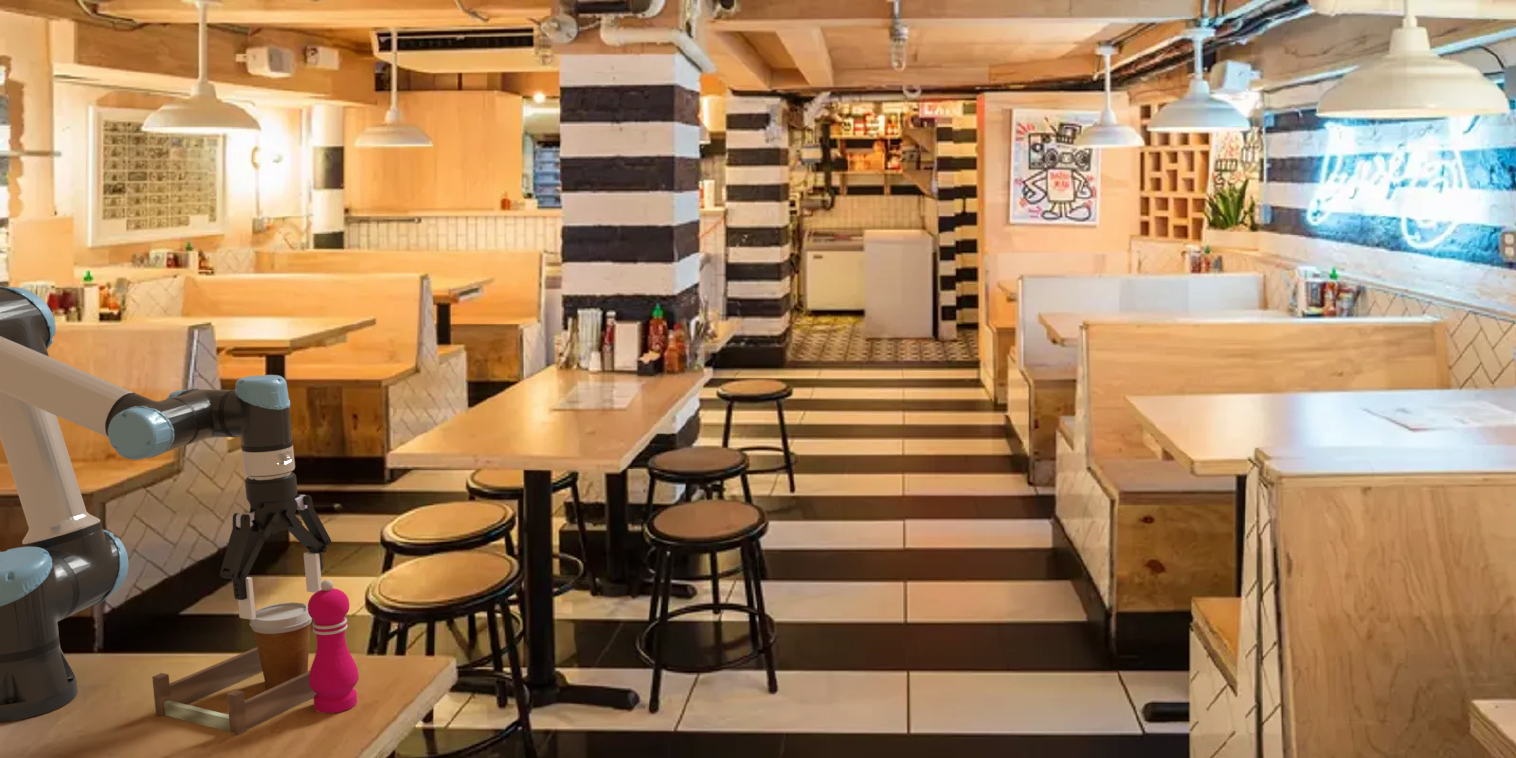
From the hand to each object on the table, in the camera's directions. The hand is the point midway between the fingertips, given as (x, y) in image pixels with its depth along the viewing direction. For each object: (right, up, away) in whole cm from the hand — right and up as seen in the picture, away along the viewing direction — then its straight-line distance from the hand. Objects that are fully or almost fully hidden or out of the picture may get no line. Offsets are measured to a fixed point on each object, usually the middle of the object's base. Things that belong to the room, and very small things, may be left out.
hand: (282, 604), depth 200 cm
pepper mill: (+11, -14, -7) cm, 19 cm away
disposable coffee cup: (0, -13, +2) cm, 13 cm away
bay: (-3, -14, -4) cm, 15 cm away
